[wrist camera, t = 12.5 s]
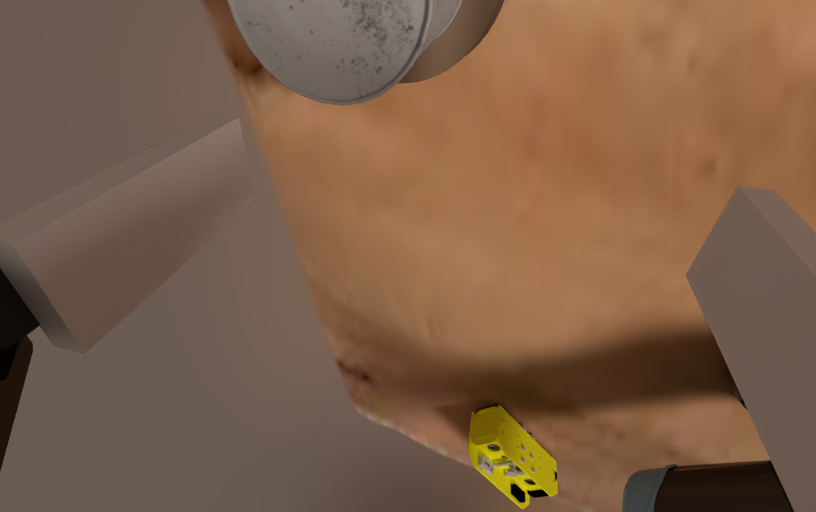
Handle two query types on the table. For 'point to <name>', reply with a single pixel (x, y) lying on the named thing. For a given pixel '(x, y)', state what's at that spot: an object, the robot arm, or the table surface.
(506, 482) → the yellow toy chassis
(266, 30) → the speckled grey cylinder
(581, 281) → the table surface
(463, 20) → the plinth
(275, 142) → the table surface
